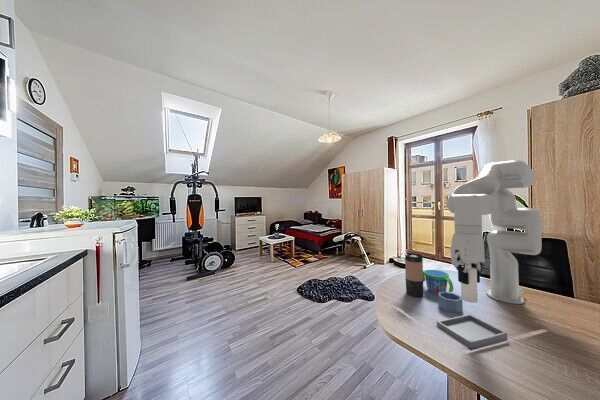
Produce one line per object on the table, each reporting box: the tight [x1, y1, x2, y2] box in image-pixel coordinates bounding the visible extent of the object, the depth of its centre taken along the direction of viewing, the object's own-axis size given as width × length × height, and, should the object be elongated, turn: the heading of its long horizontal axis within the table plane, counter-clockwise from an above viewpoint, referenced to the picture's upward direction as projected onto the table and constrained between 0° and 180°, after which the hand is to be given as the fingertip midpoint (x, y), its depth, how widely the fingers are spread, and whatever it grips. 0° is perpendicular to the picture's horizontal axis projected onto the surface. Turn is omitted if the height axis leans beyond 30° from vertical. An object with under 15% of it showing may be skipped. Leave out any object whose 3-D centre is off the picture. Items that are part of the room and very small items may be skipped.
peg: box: [460, 265, 478, 304], centre depth 73 cm, size 4×4×11 cm
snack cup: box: [423, 269, 454, 295], centre depth 105 cm, size 16×10×10 cm
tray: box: [436, 313, 508, 351], centre depth 73 cm, size 16×12×2 cm
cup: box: [437, 291, 464, 314], centre depth 89 cm, size 8×8×6 cm
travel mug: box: [404, 253, 424, 298], centre depth 102 cm, size 8×8×20 cm
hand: (468, 281), depth 73 cm, fingers closed on peg, 4 cm apart
